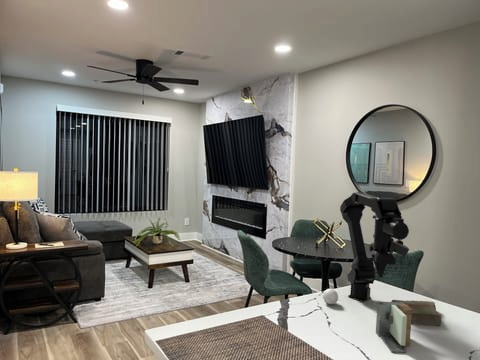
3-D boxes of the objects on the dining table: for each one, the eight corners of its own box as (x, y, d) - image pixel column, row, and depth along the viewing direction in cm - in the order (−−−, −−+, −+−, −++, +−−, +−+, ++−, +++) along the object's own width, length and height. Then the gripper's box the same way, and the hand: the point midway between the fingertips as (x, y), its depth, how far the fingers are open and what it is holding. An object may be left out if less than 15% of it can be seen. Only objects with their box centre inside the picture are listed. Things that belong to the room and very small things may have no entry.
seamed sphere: (319, 302, 135) (319, 287, 134) (330, 300, 137) (331, 285, 137) (333, 310, 128) (333, 294, 128) (345, 307, 130) (345, 292, 130)
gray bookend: (375, 332, 111) (377, 301, 111) (401, 333, 111) (403, 302, 111) (390, 352, 100) (392, 317, 99) (419, 353, 99) (421, 318, 99)
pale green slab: (387, 331, 108) (388, 304, 108) (393, 332, 108) (395, 305, 108) (398, 345, 101) (399, 316, 100) (405, 345, 100) (406, 316, 100)
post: (397, 339, 107) (399, 304, 107) (404, 339, 107) (406, 304, 107) (403, 346, 103) (405, 309, 103) (410, 346, 103) (412, 310, 103)
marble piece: (434, 311, 131) (435, 299, 131) (452, 329, 116) (453, 316, 116) (387, 307, 133) (387, 296, 133) (399, 324, 119) (400, 312, 118)
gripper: (414, 241, 115) (411, 288, 115) (401, 230, 133) (399, 271, 134) (377, 238, 117) (374, 284, 118) (370, 227, 135) (367, 268, 136)
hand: (380, 276), depth 126 cm, fingers closed
